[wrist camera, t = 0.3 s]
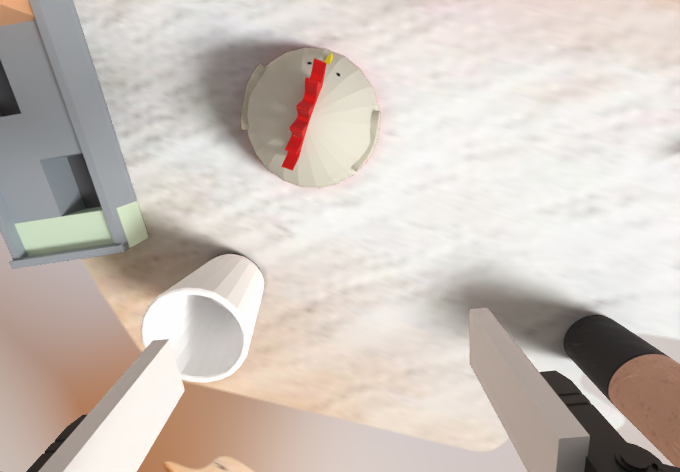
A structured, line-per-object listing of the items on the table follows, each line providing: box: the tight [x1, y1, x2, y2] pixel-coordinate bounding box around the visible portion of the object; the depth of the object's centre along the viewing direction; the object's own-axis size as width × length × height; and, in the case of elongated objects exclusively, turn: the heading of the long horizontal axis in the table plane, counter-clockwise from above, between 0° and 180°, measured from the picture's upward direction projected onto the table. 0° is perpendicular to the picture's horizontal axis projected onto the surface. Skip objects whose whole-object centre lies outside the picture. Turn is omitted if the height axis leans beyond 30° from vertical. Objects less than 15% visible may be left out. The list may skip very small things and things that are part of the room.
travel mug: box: [564, 315, 680, 468], centre depth 37 cm, size 8×8×20 cm
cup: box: [141, 254, 264, 382], centre depth 39 cm, size 10×10×13 cm
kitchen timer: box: [241, 47, 381, 188], centre depth 32 cm, size 14×14×15 cm
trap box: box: [0, 0, 149, 269], centre depth 36 cm, size 30×12×6 cm, turn 9°
